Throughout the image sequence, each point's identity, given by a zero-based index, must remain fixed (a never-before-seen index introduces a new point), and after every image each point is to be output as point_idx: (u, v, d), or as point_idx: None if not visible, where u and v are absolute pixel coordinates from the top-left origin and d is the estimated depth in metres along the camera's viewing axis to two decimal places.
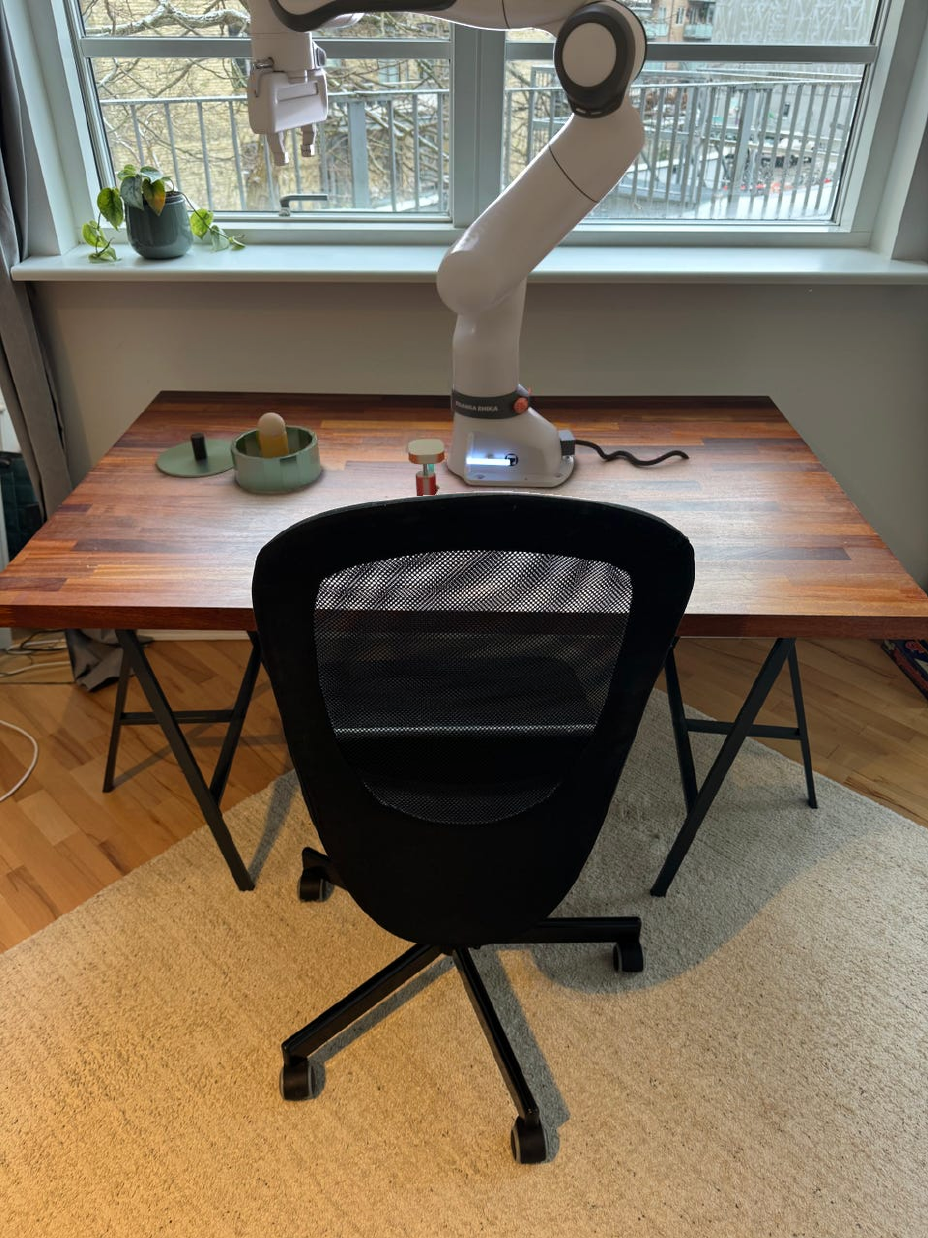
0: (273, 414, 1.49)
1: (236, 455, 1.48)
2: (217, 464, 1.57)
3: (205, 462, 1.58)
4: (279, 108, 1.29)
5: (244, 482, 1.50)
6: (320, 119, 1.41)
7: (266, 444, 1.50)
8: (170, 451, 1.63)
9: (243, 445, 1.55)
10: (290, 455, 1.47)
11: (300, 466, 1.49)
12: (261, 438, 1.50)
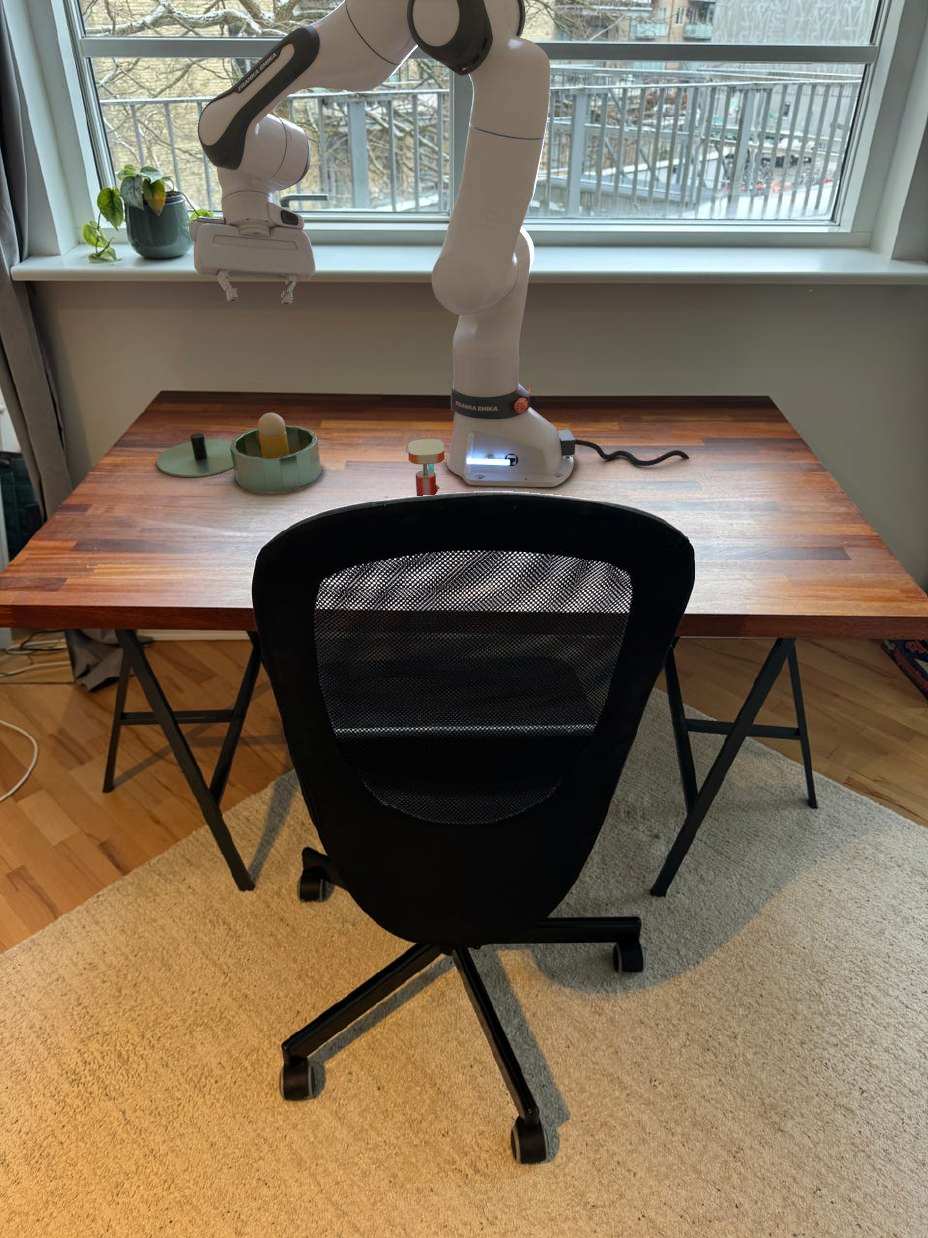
0: (273, 414, 1.49)
1: (236, 455, 1.48)
2: (217, 464, 1.57)
3: (205, 462, 1.58)
4: (217, 249, 1.46)
5: (244, 482, 1.50)
6: (298, 270, 1.52)
7: (266, 444, 1.50)
8: (170, 451, 1.63)
9: (243, 445, 1.55)
10: (290, 455, 1.47)
11: (300, 466, 1.49)
12: (261, 438, 1.50)
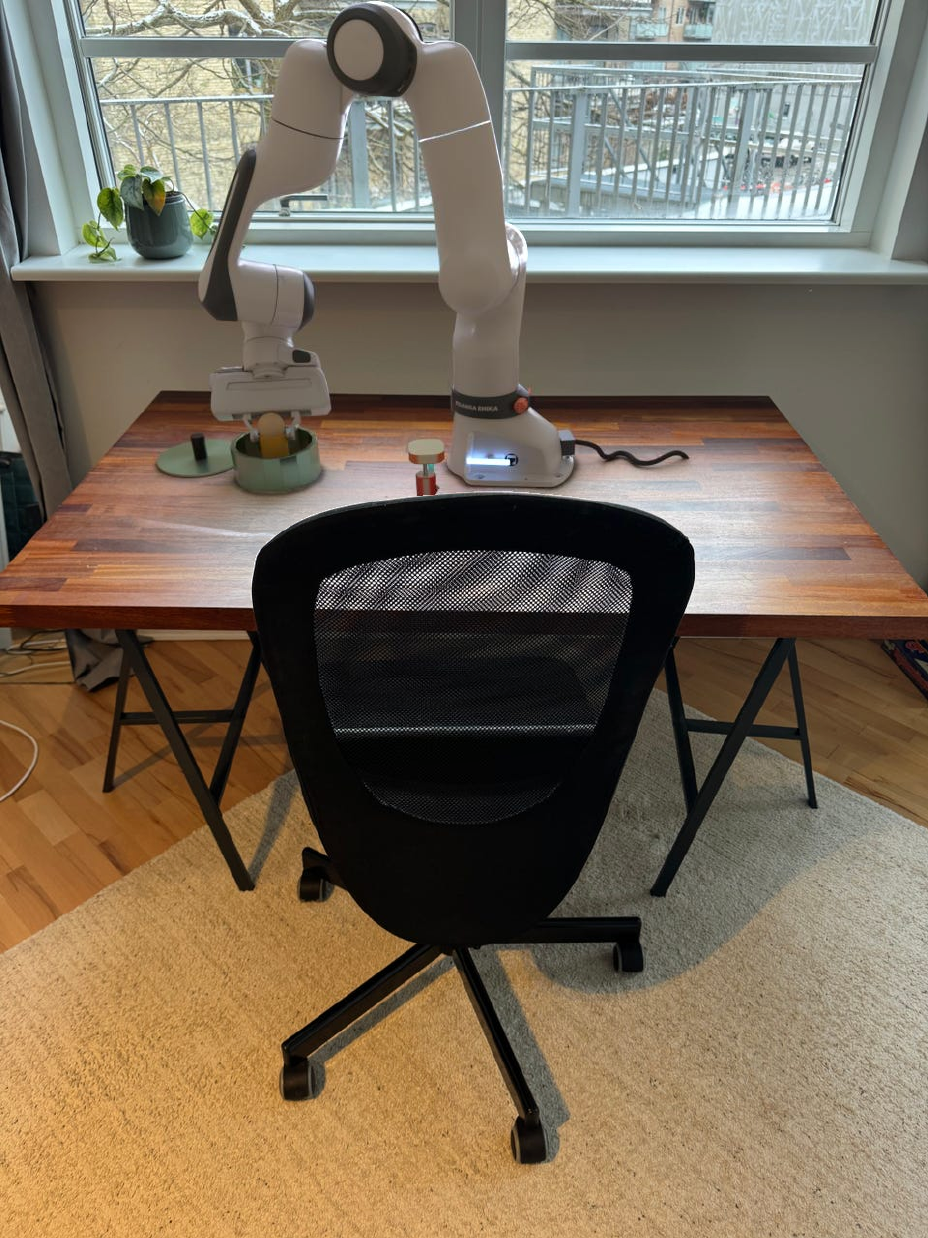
0: (273, 414, 1.49)
1: (236, 455, 1.48)
2: (217, 464, 1.57)
3: (205, 462, 1.58)
4: (229, 395, 1.50)
5: (244, 482, 1.50)
6: (310, 405, 1.51)
7: (266, 444, 1.50)
8: (170, 451, 1.63)
9: (243, 445, 1.55)
10: (290, 455, 1.47)
11: (300, 466, 1.49)
12: (261, 438, 1.50)
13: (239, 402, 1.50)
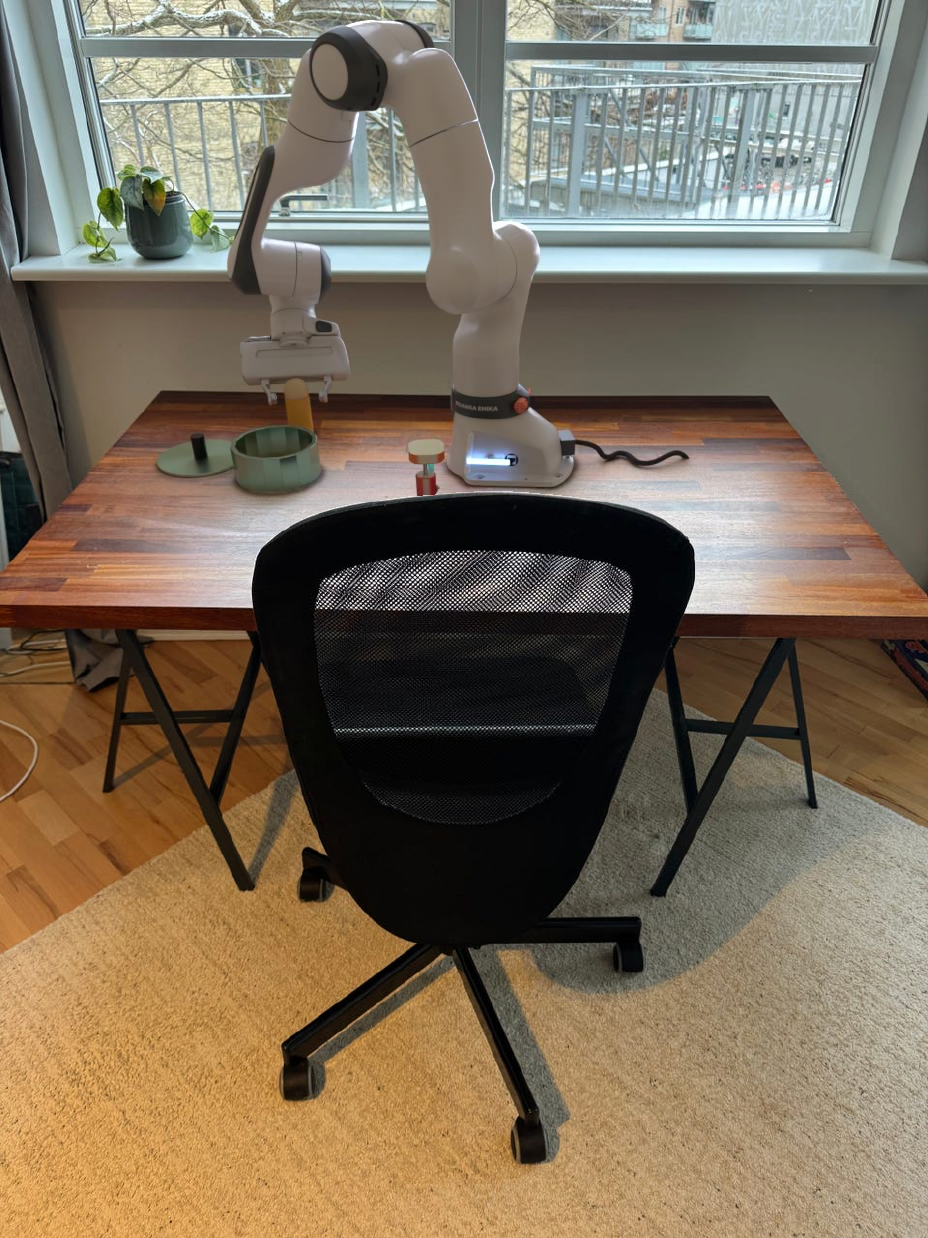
0: (298, 379, 1.65)
1: (236, 455, 1.48)
2: (217, 464, 1.57)
3: (205, 462, 1.58)
4: (258, 362, 1.66)
5: (244, 482, 1.50)
6: (332, 371, 1.66)
7: (291, 407, 1.65)
8: (170, 451, 1.63)
9: (243, 445, 1.55)
10: (290, 455, 1.47)
11: (300, 466, 1.49)
12: (287, 401, 1.65)
13: (267, 368, 1.65)
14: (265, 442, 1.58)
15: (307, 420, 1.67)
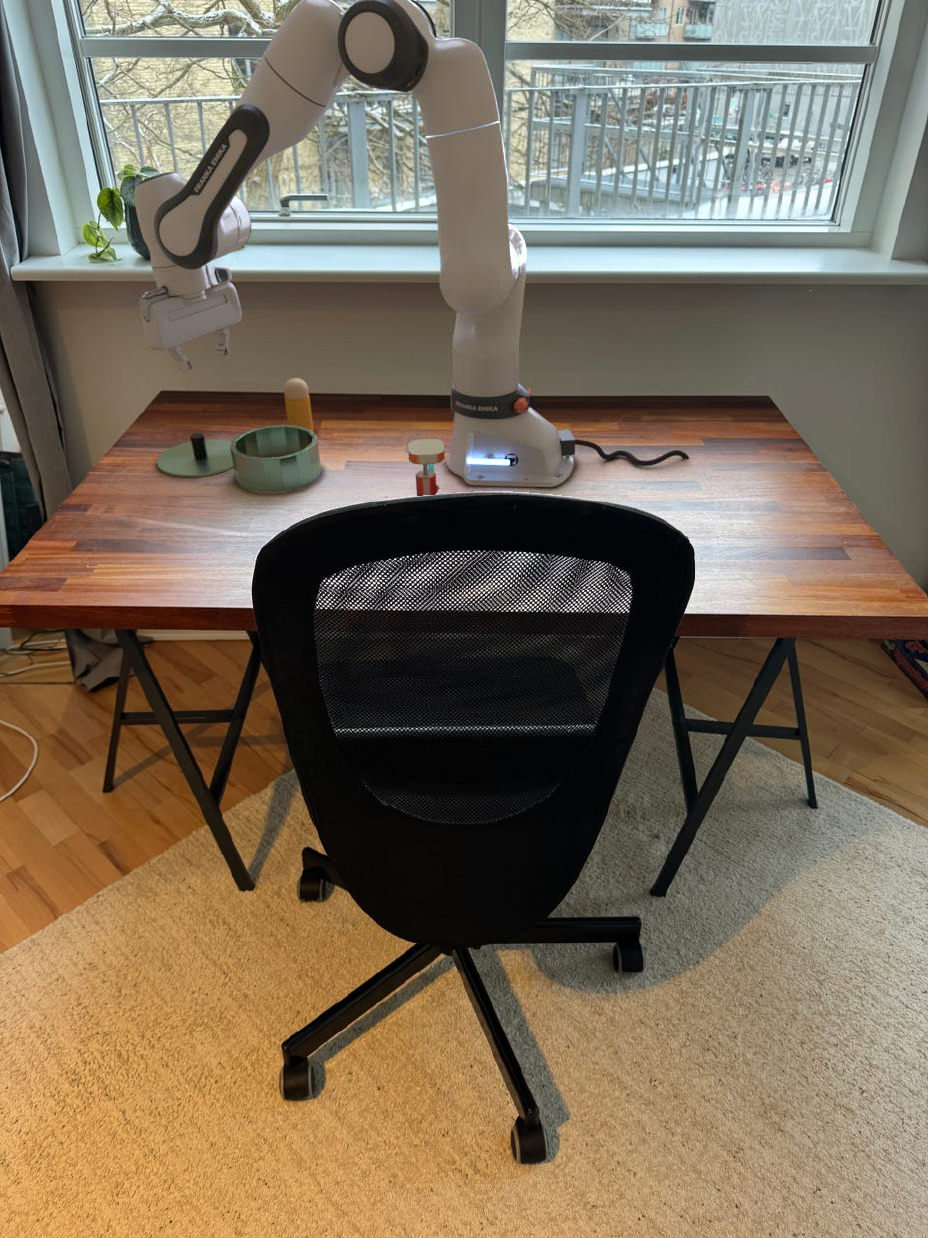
0: (298, 379, 1.65)
1: (236, 455, 1.48)
2: (217, 464, 1.57)
3: (205, 462, 1.58)
4: (172, 327, 1.48)
5: (244, 482, 1.50)
6: (231, 323, 1.59)
7: (291, 407, 1.65)
8: (170, 451, 1.63)
9: (243, 445, 1.55)
10: (290, 455, 1.47)
11: (300, 466, 1.49)
12: (287, 401, 1.65)
13: (181, 333, 1.49)
14: (265, 442, 1.58)
15: (307, 420, 1.67)
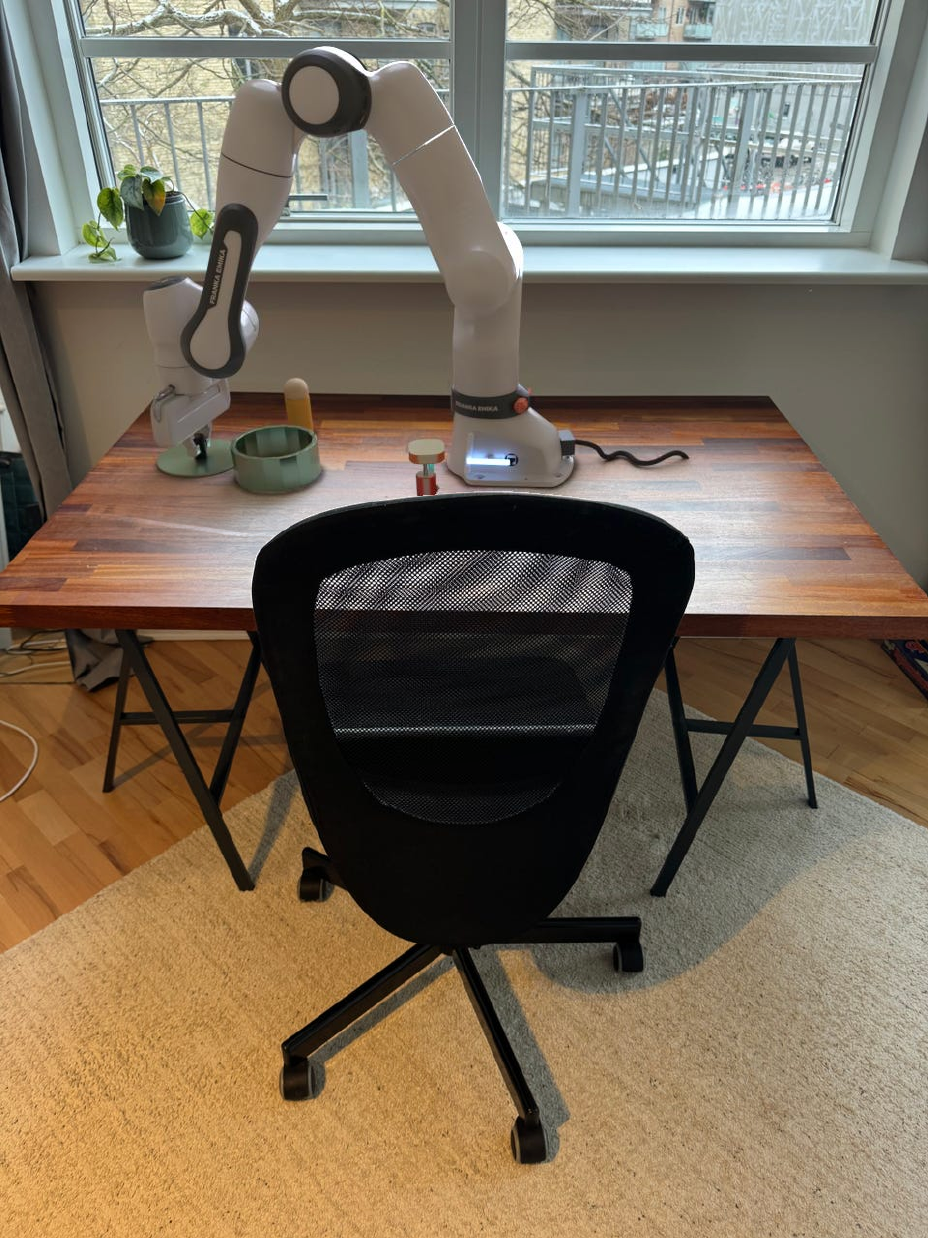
0: (298, 379, 1.65)
1: (236, 455, 1.48)
2: (217, 464, 1.57)
3: (205, 462, 1.58)
4: (180, 425, 1.50)
5: (244, 482, 1.50)
6: (223, 411, 1.62)
7: (291, 407, 1.65)
8: (170, 451, 1.63)
9: (243, 445, 1.55)
10: (290, 455, 1.47)
11: (300, 466, 1.49)
12: (287, 401, 1.65)
13: (186, 429, 1.52)
14: (265, 442, 1.58)
15: (307, 420, 1.67)
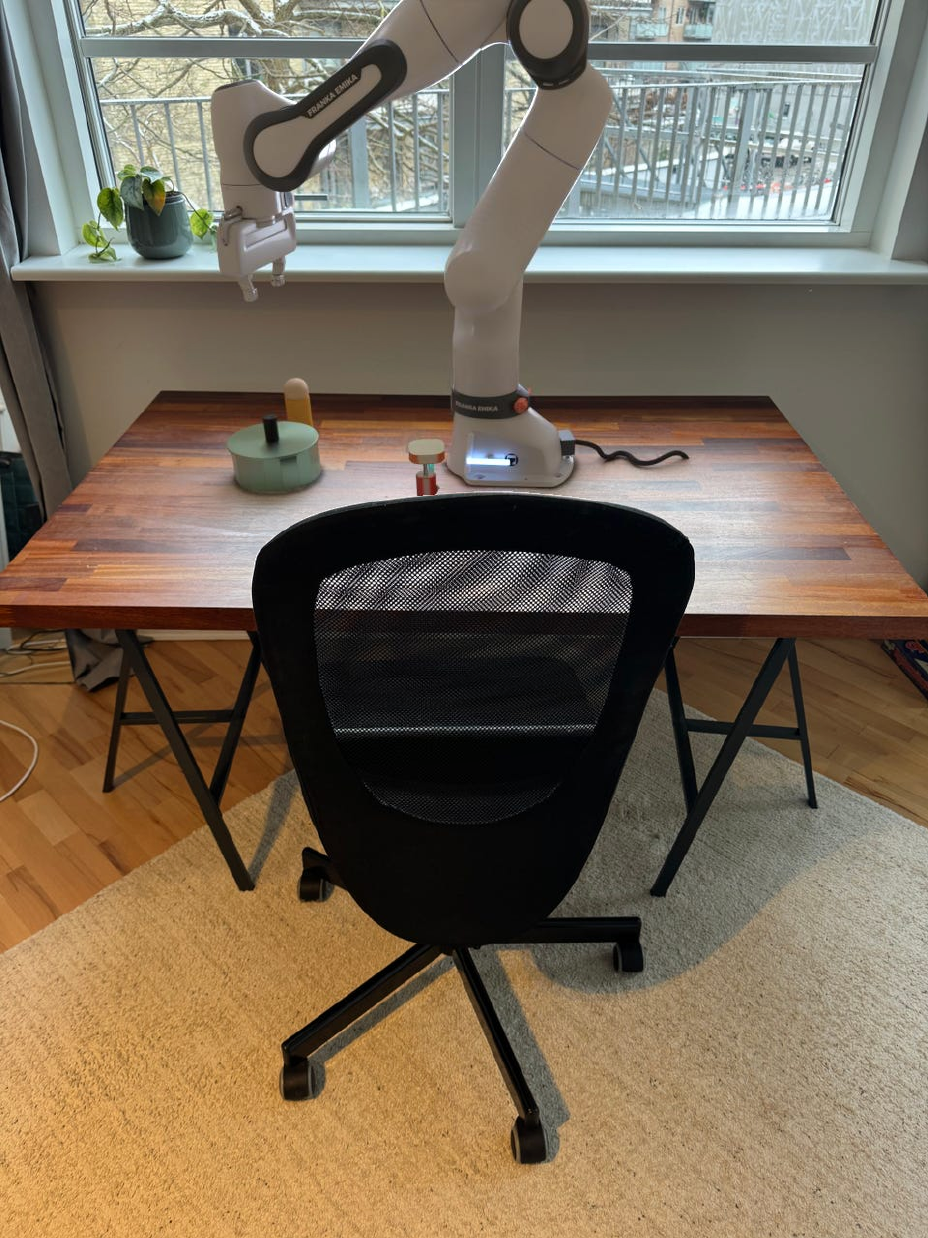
0: (298, 379, 1.65)
1: None
2: (291, 447, 1.48)
3: (278, 445, 1.49)
4: (248, 253, 1.36)
5: (244, 482, 1.50)
6: (289, 251, 1.48)
7: (291, 407, 1.65)
8: (239, 434, 1.54)
9: None
10: None
11: (300, 466, 1.49)
12: (287, 401, 1.65)
13: (254, 259, 1.38)
14: None
15: (307, 420, 1.67)
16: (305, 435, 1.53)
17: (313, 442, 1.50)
